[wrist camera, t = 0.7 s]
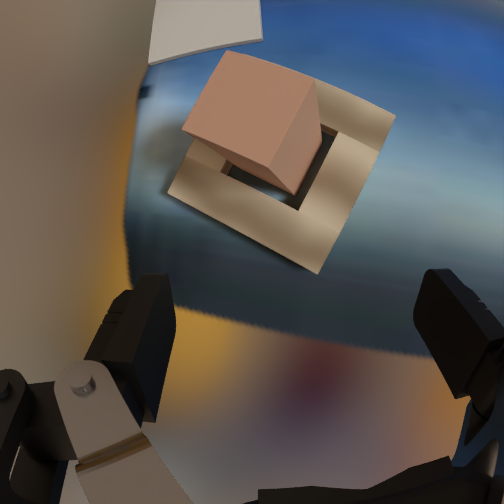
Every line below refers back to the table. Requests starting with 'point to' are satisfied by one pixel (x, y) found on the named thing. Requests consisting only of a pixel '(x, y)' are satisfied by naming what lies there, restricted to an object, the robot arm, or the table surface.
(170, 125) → the table surface
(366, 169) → the puzzle board
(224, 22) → the grey pad
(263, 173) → the terracotta block
